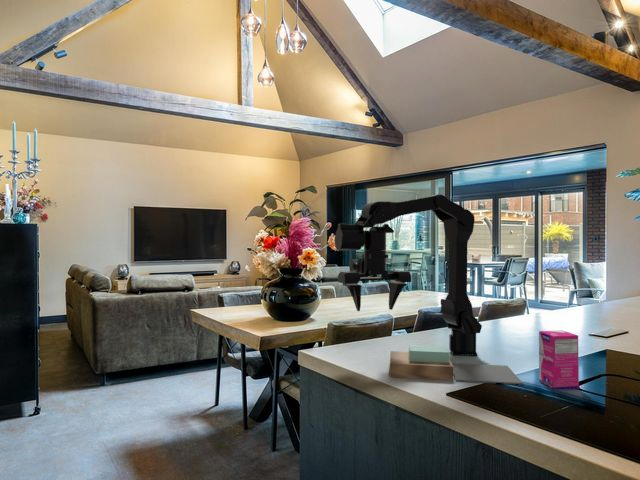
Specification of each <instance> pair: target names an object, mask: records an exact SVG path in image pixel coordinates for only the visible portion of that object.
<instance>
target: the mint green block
mask: <svg viewBox="0 0 640 480" xmlns="http://www.w3.org/2000/svg"><path fill="white" fill-rule="evenodd" d="M408 352H409V360H410V361H418V362H440V363H449V359H450V350H449V348H448V347H447V346H444V345H443V346H441V345H418V344H417V345H413V344H408Z"/></svg>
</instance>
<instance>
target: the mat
mask: <svg viewBox="0 0 640 480" xmlns="http://www.w3.org/2000/svg"><path fill="white" fill-rule="evenodd" d="M451 363H452V362H451ZM452 365H453V379H455V382H461V383H462V382H463V383H481V384H482V383H483V384H496V383H502V384H501V385H516V384H518V385H519V386H522V385H524V382H523V381H522V380H521V379H520V378H519V377H518V376H517V375H516V374H515V372H513V371H512V369H511V367H509V366H508V365H500V364H481V363H480V364H479V363H477V364H476V363H457V362H453V363H452ZM503 383H504V384H503ZM518 385H517V386H518Z"/></svg>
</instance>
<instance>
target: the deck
mask: <svg viewBox="0 0 640 480" xmlns="http://www.w3.org/2000/svg"><path fill="white" fill-rule="evenodd" d="M389 358H390V360H389V361H390V362H389V377H391V378H408V379H424V380H425V379H429V380H447V381H453V380H454V375H453V365H452V361H451V359H450V358H449V363H440V362H418V361H410V360H409V351H394V350H390V356H389Z"/></svg>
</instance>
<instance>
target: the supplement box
mask: <svg viewBox="0 0 640 480" xmlns="http://www.w3.org/2000/svg"><path fill="white" fill-rule="evenodd" d="M579 367H580V363H579V335H578V334H576V333H572V332H568V331H566V330H563V329H557V330H556V329H555V330H553V329H552V330H538V373H539V374H538V378H539V379H538V380H539V381H538V382H540V383H542V384H544V385H545V386H547V385H548V387H549V386H550V387H549V388H551V387H552V388H553V389H552V388H551V389H552V390H554V389H562V390H579V389H580V379H579V378H580V377H579V375H580V373H579V370H580V369H579Z"/></svg>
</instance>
